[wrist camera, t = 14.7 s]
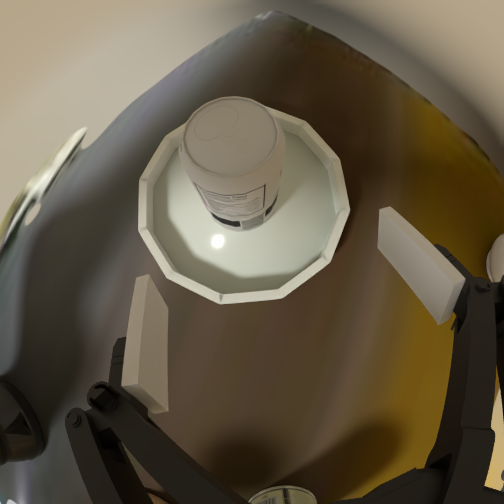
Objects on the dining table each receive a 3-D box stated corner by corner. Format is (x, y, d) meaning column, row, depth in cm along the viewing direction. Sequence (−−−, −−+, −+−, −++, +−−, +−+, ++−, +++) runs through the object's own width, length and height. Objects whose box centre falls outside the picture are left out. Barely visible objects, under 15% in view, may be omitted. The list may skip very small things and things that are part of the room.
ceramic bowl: (118, 249, 35) (106, 245, 31) (203, 101, 38) (199, 86, 34) (292, 334, 33) (296, 338, 29) (361, 162, 36) (370, 150, 32)
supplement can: (193, 199, 34) (152, 137, 20) (243, 156, 35) (234, 75, 20) (239, 247, 33) (224, 209, 19) (290, 200, 34) (311, 134, 19)
